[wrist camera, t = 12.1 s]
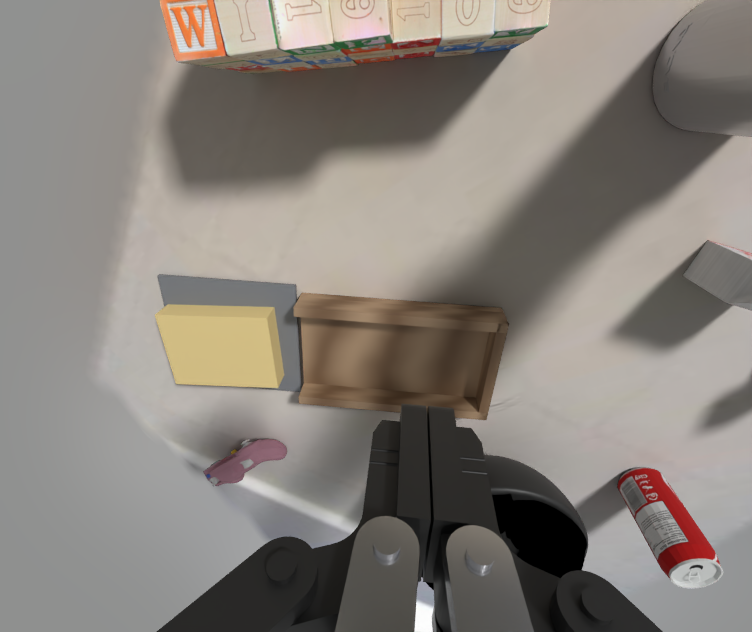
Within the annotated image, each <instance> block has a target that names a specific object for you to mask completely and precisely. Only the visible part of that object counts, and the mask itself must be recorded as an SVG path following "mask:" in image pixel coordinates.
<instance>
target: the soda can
mask: <svg viewBox="0 0 752 632" xmlns="http://www.w3.org/2000/svg"><path fill="white" fill-rule="evenodd" d="M617 488H618V489H619V491H620V493H621V495H622V497H623V499H624V501H625V502H626V504H627V506H628V508H629V510H630V512H631V514H632V515H633V517H634V519H635V521H636V523H637V525H638V527H639V528H640V530H641V532H642V534H643V536H644V538H645V539H646V541H647V543H648V545H649V547H650V549H651V551H652V552H653V554H654V556H655V558H656V560H657V562H658V563H659V565H660V567H661V569H662V570H663V571H664V572H665V574H666V575H667V576H668V577H669V578H670V579H671V581H672V583H673V584H675V585H676V586H679V587H683V588H701V587H705V586H708V585H710V584H712V583H715V582H716V581H718V580H719V579H720V577H721V576H722V575H723V569H722V567H721V565H720V563H719V560H718V557H717V555H716V553H715V551H714V549H713V548H712V546H711V545H710V544H709V542H708V541H707V539H706V538H705V536H704V535H703V533H702V532H701V530H700V529H699V527H698V526H697V524H696V523H695V522H694V520H693V519H692V517H691V516H690V514H689V513H688V511H687V510H686V508H685V507H684V505H683V504H682V502H681V501H680V500H679V498H678V497H677V495H676V494H675V492H674V491H673V489H672V488H671V486H670V485H669V483H668V482H667V480H666V479H665V478H664V476H663V475H662V474H661V473H660V472H659V471H657V470H655V469H651V468H646V467H639V468H634V469H631V470H629V471H627V472H625V473H624V474H623V475H622V476H621V477H620V480H619V481H618V486H617Z"/></svg>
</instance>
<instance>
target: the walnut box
mask: <svg viewBox="0 0 752 632" xmlns="http://www.w3.org/2000/svg"><path fill="white" fill-rule="evenodd" d="M293 309H294V317H301V334H302V354H303V374H304V384H303V387H302V389H301V392H300V394H299V404H310V405H321V406H332V407H343V408H355V409H366V410H377V411H389V412H400V413H401V404H412V405H423V406H426V407H427V408H428V406H436V407H447V408H453V409H454V413H455V417H456V418H467V419H479V420H486V419H487V415H488V411H489V406H490V402H491V398H492V394H493V390H494V385H495V381H496V377H497V373H498V368H499V364H500V360H501V356H502V351H503V347H504V343H505V339H506V335H507V330H508V326H509V323H508V321H507V319H506V317H505V314H504V312H503V310H502V308H496V307H483V306H470V305H456V304H443V303H430V302H417V301H404V300H390V299H377V298H364V297H351V296H338V295H324V294H311V293H302V294H301V295H300V297H299V299H298V301H297V302H296V304H295V306H294V307H293Z"/></svg>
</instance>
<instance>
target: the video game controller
mask: <svg viewBox="0 0 752 632" xmlns="http://www.w3.org/2000/svg"><path fill="white" fill-rule="evenodd" d="M249 440H250V439H247V440H245V441H243V442H242V444H244V445H243V446H242V448H241V449H240V450H238V451H237V450H236V449H235V450H233V451H231V455H230V456H228V457H226V458H224V459H223V460H219V461H217V462H215V463H214V464H212V465H211V466H210V467H209V468H207V469H206V470H205V471H203V472H204V474H205V476H206V477H207V479H208V480H209V481H210V482H211V483H212V484H213V486H214V485H215V486H219V485H222V484H225V483H237V482H239V481H241V480H242V479H243V477H244V473H245V472H247V471H249V470H250V469H252V468H254V467H255V466H256V465H258V464H259V463H261V462H264V461H269V460H280V459H283V458H284V457H285V456H286V454H287V449H286V446H285V445H284V444H283V443H281V442H280V441H277V440H273V439H263V440H261V439H258V440H256V441H253V442H248V441H249ZM242 444H241V445H242Z"/></svg>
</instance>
